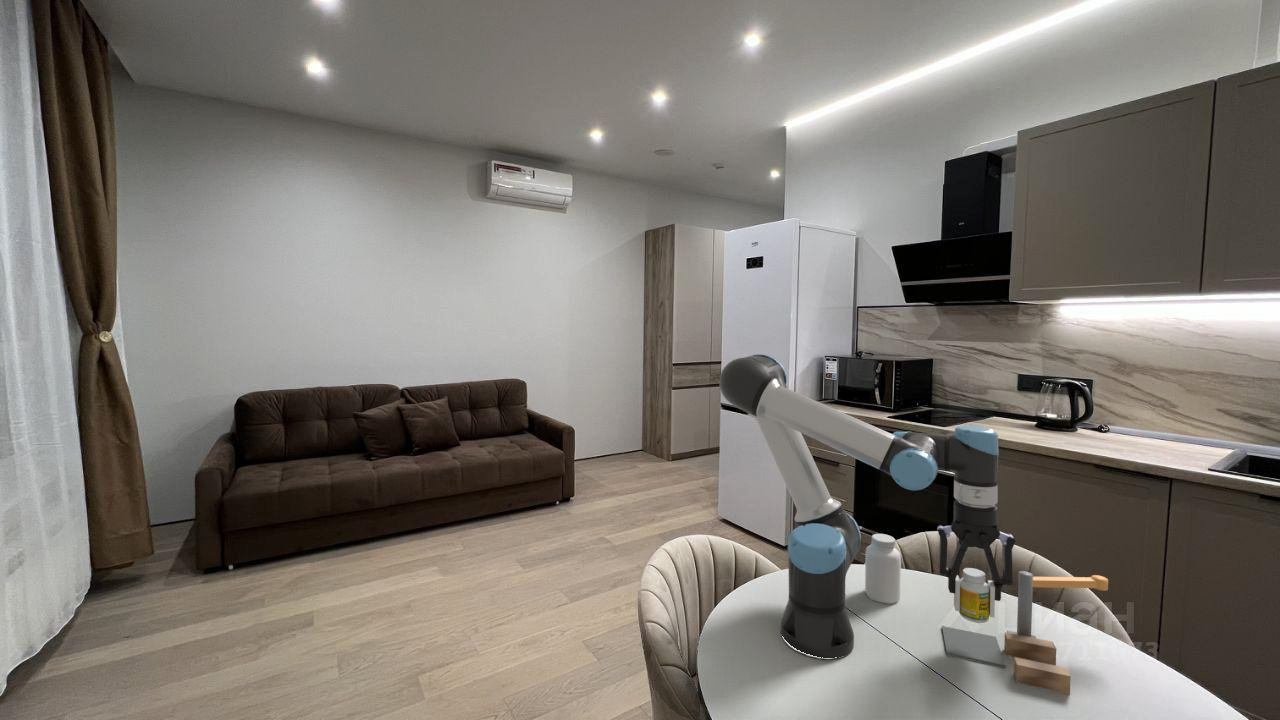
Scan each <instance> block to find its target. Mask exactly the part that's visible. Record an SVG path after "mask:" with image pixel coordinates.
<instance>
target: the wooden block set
mask: <svg viewBox="0 0 1280 720" xmlns="http://www.w3.org/2000/svg"><path fill="white" fill-rule="evenodd" d="M1003 646H1004V651H1005V654H1006V656H1008V657H1014V658H1013V677H1014V680H1015V682H1016V683H1019V684H1023V685H1028V686H1030V687H1031V686H1032V687H1036V688H1040V689H1045V690H1048V691H1053V692H1058V693H1061V694H1065V695H1071V682H1072V681H1071V680H1072V678H1071V677H1072V676H1071V674H1070V672H1069V670H1068V668H1067V667H1063V666H1058V665H1057V646H1056V645H1055V644H1054V641H1051V640H1048V639H1047V640H1046V639H1043V638H1042V639H1041V638H1037V637H1036V635H1034V634H1033V635H1032V634H1031V637H1027V636H1022V635H1017V631H1013V630H1008V629H1007V630H1006V632H1005V631H1004V645H1003Z"/></svg>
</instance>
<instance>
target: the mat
mask: <svg viewBox="0 0 1280 720" xmlns="http://www.w3.org/2000/svg"><path fill="white" fill-rule="evenodd" d="M941 629H942V635H943V641H944V645H945V646H944V647H945V652H946V655H947V656H950V657H956V658H960V659H965V660H969V661H973V662H976V663H977V662H978V663H982V664H987V665H992V666H997V667H1000V668H1004V669H1005V668H1007V665H1006V662H1005V659H1004V656H1003V654H1002V650H1001V648H1000V644H999V642H998V639H997V636H994V635H989V634H986V633H985V634H984V633H979V632H975V631H969V630H964V629H960V628H955V627H950V626H945V625H942V626H941Z"/></svg>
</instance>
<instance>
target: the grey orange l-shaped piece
mask: <svg viewBox="0 0 1280 720" xmlns="http://www.w3.org/2000/svg"><path fill="white" fill-rule="evenodd" d="M1017 584H1018V586H1017V587H1018V588H1017V590H1018V591H1017V613H1016V614H1017V619H1016V621H1017V623H1016V632H1017V635H1022V636H1027V637H1031V635H1032V624H1033V622H1032V620H1033V619H1032V618H1033V593H1034V591H1033V589H1034V588H1051V589H1052V588H1054V589H1055V588H1056V589H1057V588H1058V589H1059V588H1060V589H1061V588H1062V589H1063V588H1064V589H1065V588H1067V589H1095V590H1098V591H1104V592H1105V591H1106V592H1108V591H1109V590H1108V589H1109V579H1108V578H1106V577H1105V576H1102V575H1098V574H1097V575H1096V574H1094V575H1091V576H1088V577H1085V576H1082V577H1081V576H1080V577H1078V576H1034V574H1033V573H1031V572H1028V571H1024V570H1020V571H1018V583H1017Z"/></svg>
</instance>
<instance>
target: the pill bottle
mask: <svg viewBox="0 0 1280 720" xmlns="http://www.w3.org/2000/svg"><path fill="white" fill-rule="evenodd" d="M901 559H902V555H901V553H900V551H899V550H898V549H897V548H896V539H895V538H894V537H893V536H891V535H888V534H884V533H875V534H872V536H871V543H870V545H868V546H867V547H866V549H865V560H864V561H865V569H864V570H865V571H864V572H865V573H864V574H865V575H864V576H865V578H864V579H865V582H864V583H865V585H864V586H865V588H864V589H865V595H866V596H867V597H868V598H870V599H871V600H873V601H875V602H878V603H882V604H896V603H898V602H899V601H900V599H901V581H902V580H901V576H902V575H901V572H902V571H901V570H902V567H901V564H902V563H901V562H902V561H901Z"/></svg>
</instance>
